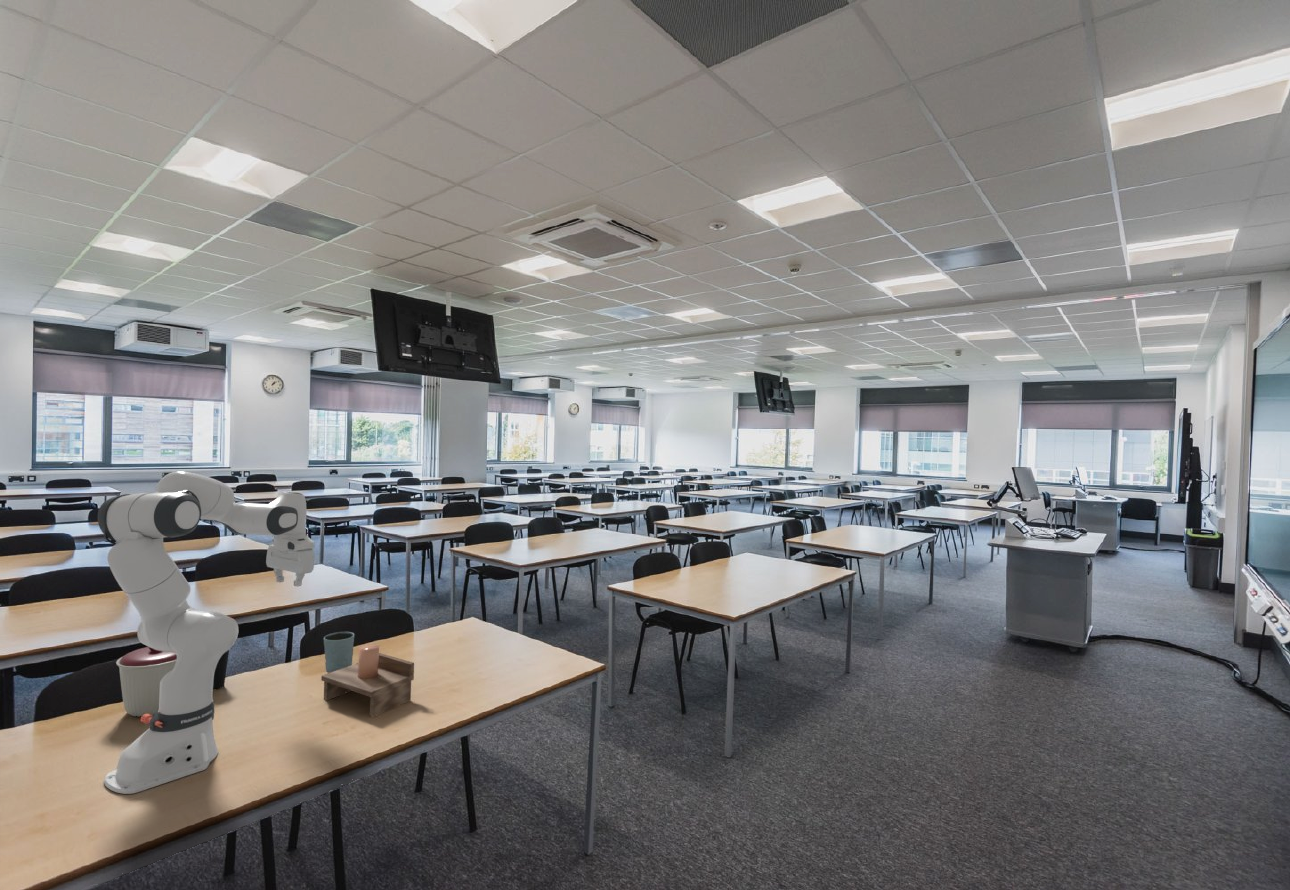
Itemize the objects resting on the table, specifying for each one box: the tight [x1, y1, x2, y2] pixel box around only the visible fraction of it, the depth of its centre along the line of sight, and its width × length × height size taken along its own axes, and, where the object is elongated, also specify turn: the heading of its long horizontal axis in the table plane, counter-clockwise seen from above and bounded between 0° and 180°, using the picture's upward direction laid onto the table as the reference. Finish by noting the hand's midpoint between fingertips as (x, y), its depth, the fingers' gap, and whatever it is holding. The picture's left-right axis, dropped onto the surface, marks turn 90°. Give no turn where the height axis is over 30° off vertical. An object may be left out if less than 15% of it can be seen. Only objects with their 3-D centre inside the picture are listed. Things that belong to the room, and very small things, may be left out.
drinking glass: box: [323, 631, 355, 673], centre depth 218 cm, size 10×10×12 cm
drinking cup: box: [213, 649, 230, 691], centre depth 198 cm, size 8×8×20 cm
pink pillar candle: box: [357, 644, 380, 679], centre depth 193 cm, size 6×6×9 cm
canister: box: [115, 646, 177, 718], centre depth 181 cm, size 18×18×21 cm
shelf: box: [320, 652, 415, 718], centre depth 193 cm, size 16×24×12 cm, turn 62°
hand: (288, 583), depth 192 cm, fingers open, 8 cm apart
